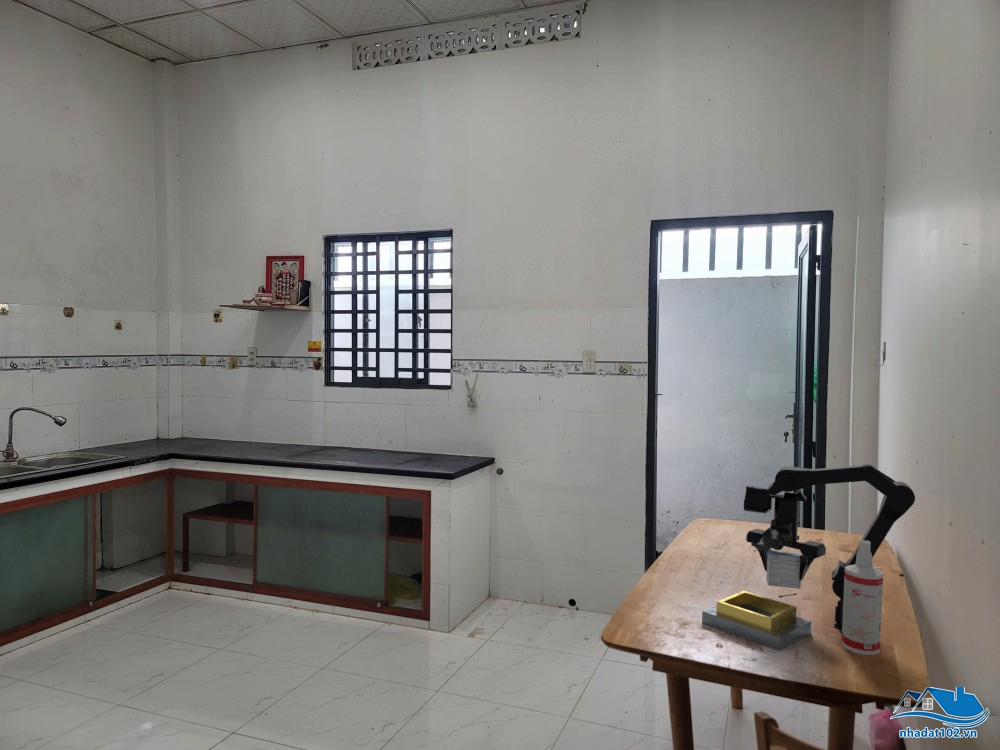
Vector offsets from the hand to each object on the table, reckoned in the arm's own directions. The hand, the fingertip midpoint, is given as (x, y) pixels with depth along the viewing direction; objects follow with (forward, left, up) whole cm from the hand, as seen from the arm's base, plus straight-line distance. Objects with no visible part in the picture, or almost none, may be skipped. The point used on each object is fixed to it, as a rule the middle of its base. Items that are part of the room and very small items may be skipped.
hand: (783, 575), depth 173 cm
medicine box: (0, 0, -3) cm, 3 cm away
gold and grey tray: (0, +14, -10) cm, 17 cm away
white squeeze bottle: (-21, +5, -11) cm, 24 cm away
